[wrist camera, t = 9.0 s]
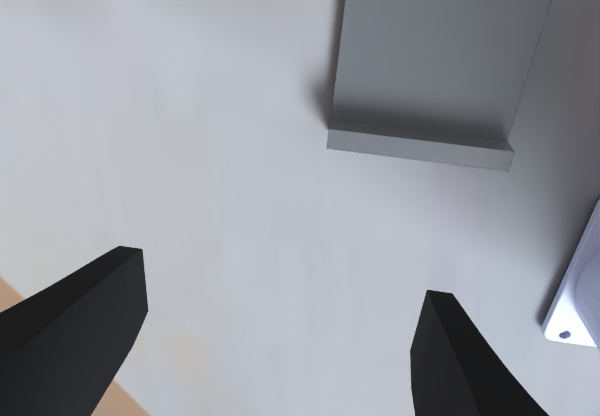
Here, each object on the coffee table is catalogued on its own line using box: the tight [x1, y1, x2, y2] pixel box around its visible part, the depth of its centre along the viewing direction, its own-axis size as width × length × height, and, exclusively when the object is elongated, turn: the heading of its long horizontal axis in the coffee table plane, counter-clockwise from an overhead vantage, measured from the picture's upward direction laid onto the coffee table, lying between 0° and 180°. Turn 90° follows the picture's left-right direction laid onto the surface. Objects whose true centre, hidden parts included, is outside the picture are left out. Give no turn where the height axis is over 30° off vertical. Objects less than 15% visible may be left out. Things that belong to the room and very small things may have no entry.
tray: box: [326, 0, 551, 171], centre depth 17 cm, size 7×8×2 cm
